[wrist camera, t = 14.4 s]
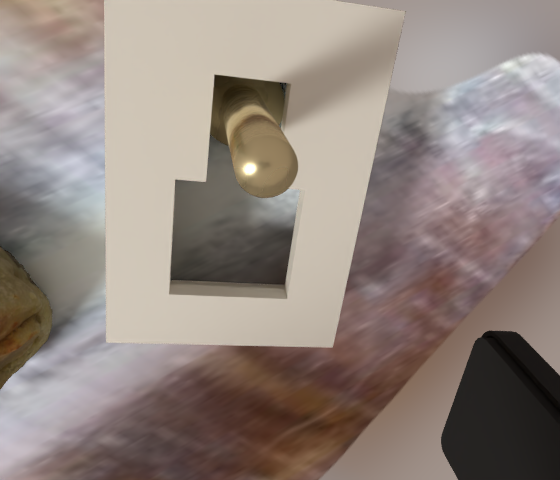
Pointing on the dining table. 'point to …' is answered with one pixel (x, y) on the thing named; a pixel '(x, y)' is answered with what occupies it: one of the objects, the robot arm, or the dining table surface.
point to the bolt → (254, 133)
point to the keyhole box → (195, 145)
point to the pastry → (20, 316)
